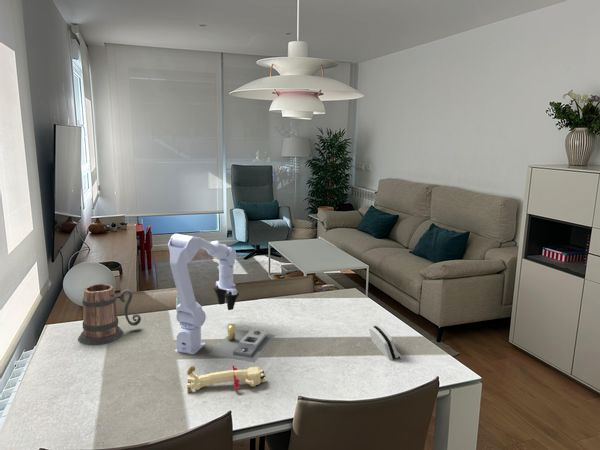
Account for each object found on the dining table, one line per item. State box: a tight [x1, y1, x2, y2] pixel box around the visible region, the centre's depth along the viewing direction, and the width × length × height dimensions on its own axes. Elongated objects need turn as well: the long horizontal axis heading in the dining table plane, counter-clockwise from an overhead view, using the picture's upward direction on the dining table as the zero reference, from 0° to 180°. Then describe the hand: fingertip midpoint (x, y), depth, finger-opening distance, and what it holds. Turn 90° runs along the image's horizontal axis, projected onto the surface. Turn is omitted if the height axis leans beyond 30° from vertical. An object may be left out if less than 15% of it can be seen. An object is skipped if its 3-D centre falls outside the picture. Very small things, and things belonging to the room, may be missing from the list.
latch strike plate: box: [233, 329, 269, 357], centre depth 172 cm, size 18×7×3 cm, turn 165°
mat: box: [207, 328, 276, 363], centre depth 173 cm, size 24×18×1 cm
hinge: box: [368, 324, 403, 361], centre depth 173 cm, size 17×5×10 cm, turn 14°
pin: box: [227, 323, 236, 342], centre depth 176 cm, size 3×3×6 cm
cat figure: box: [186, 365, 268, 393], centre depth 144 cm, size 10×9×25 cm
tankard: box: [77, 283, 142, 347], centre depth 178 cm, size 24×17×20 cm
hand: (226, 306), depth 187 cm, fingers open, 7 cm apart
